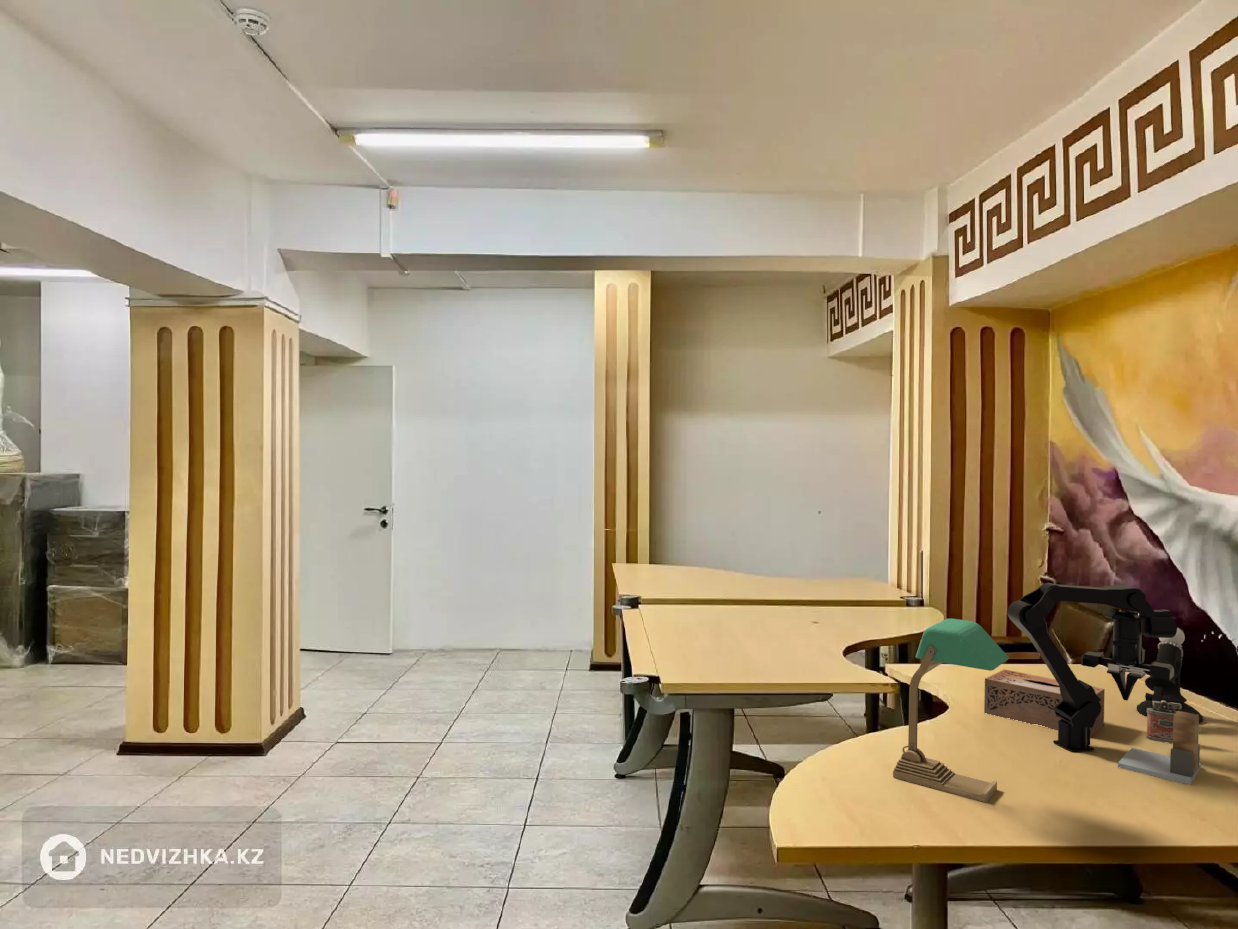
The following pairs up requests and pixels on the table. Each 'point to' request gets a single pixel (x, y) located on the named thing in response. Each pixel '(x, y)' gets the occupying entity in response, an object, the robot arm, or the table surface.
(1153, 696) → the sculpture
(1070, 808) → the table surface
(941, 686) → the table surface
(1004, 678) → the tissue box cover
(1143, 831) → the table surface
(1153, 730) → the lighter
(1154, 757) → the grey stand
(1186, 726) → the tall wooden post
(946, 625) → the banker's lamp
